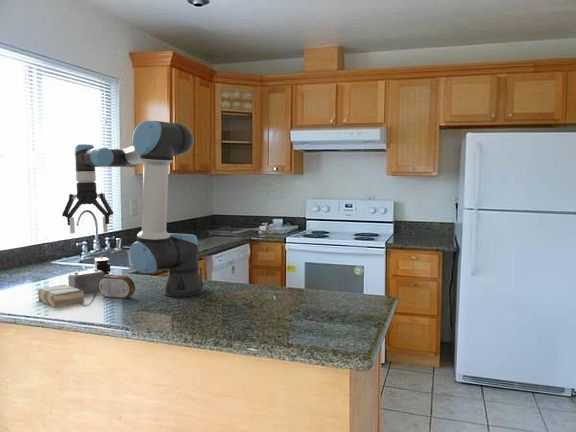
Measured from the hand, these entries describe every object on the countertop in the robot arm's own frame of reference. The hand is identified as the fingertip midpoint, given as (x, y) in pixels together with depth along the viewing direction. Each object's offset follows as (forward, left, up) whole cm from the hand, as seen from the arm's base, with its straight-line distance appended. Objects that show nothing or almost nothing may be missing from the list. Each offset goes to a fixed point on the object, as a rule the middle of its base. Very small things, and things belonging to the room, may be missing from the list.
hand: (89, 232), depth 202 cm
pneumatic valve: (-1, -5, -23) cm, 23 cm away
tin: (-28, +3, -23) cm, 36 cm away
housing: (-10, +6, -23) cm, 26 cm away
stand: (-17, +19, -23) cm, 34 cm away
